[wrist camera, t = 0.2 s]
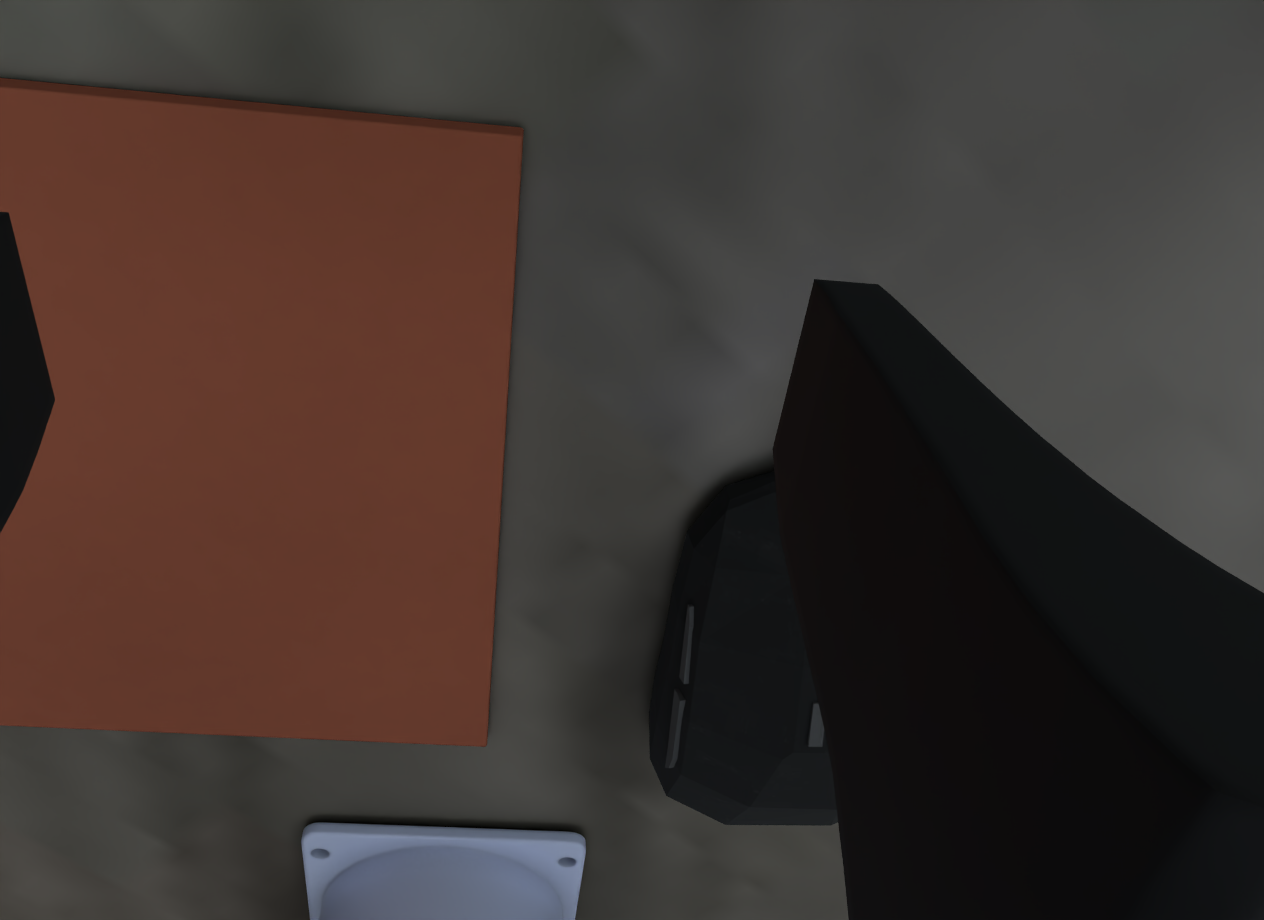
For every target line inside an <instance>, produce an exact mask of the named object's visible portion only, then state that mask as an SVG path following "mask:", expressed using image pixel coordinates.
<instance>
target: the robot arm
mask: <svg viewBox="0 0 1264 920" xmlns="http://www.w3.org/2000/svg"><path fill="white" fill-rule="evenodd" d="M54 402H55V396H54V392H53V388H52V384H51V380H50V376H49V372H48V368H47V364H46V360H45V356H44V352H43V348H42V344H41V340H40V336H39V332H38V328H37V324H36V320H35V316H34V312H33V308H32V304H31V300H30V296H29V292H28V288H27V284H26V280H25V276H24V272H23V268H22V264H21V260H20V256H19V252H18V248H17V244H16V240H15V236H14V232H13V228H12V224H11V220H10V216H9V212H0V533H1V531H2V529H3V528H4V526H5V524H6V522H7V520H8V518H9V517H10V515H11V513H12V511H13V509H14V507H15V505H16V503H17V501H18V499H19V498H20V496H21V494H22V492H23V490H24V487H25V485H26V482H27V479H28V477H29V474H30V471H31V469H32V466H33V463H34V461H35V458H36V456H37V453H38V450H39V447H40V444H41V441H42V438H43V435H44V432H45V429H46V426H47V423H48V420H49V417H50V414H51V411H52V408H53V405H54ZM773 459H774V472H775V485H776V498H777V509H778V519H779V529H780V538H781V543H782V547H783V552H784V557H785V561H786V566H787V570H788V574H789V579H790V583H791V588H792V592H793V597H794V601H795V605H796V610H797V614H798V618H799V623H800V627H801V631H802V635H803V640H804V644H805V648H806V652H807V657H808V661H809V665H810V670H811V674H812V678H813V682H814V687H815V691H816V695H817V700H818V704H819V708H820V712H821V717H822V721H823V725H824V730H825V735H826V740H827V746H828V751H829V757H830V762H831V768H832V773H833V781H834V790H835V798H836V807H837V815H838V823H839V832H840V840H841V849H842V857H843V866H844V875H845V886H846V896H847V906H848V916H849V920H1264V593H1262V592H1261V591H1259V590H1257V589H1256V588H1254V587H1252V586H1250V585H1249V584H1247V583H1245V582H1244V581H1242V580H1240V579H1239V578H1237V577H1235V576H1234V575H1232V574H1230V573H1228V572H1227V571H1225V570H1223V569H1222V568H1220V567H1218V566H1217V565H1215V564H1214V563H1212V562H1211V561H1209V560H1207V559H1206V558H1204V557H1203V556H1201V555H1200V554H1198V553H1197V552H1195V551H1193V550H1192V549H1190V548H1189V547H1187V546H1186V545H1184V544H1183V543H1181V542H1180V541H1178V540H1177V539H1175V538H1174V537H1172V536H1171V535H1169V534H1168V533H1167V532H1165V531H1164V530H1162V529H1161V528H1160V527H1158V526H1157V525H1155V524H1154V523H1152V522H1151V521H1150V520H1148V519H1147V518H1145V517H1144V516H1142V515H1141V514H1140V513H1138V512H1137V511H1135V510H1134V509H1132V508H1131V507H1130V506H1128V505H1127V504H1125V503H1124V502H1123V501H1121V500H1120V499H1118V498H1117V497H1116V496H1114V495H1113V494H1112V493H1110V492H1109V491H1108V490H1106V489H1105V488H1104V487H1102V486H1101V485H1100V484H1099V483H1097V482H1096V481H1095V480H1093V479H1092V478H1091V477H1089V476H1088V475H1087V474H1086V473H1084V472H1083V471H1082V470H1081V469H1080V468H1078V467H1077V466H1076V465H1075V464H1074V463H1072V462H1071V461H1070V460H1069V459H1068V458H1066V457H1065V456H1064V455H1063V454H1062V453H1060V452H1059V451H1058V450H1057V449H1056V448H1054V447H1053V446H1052V445H1051V444H1049V443H1048V442H1047V441H1046V440H1045V439H1043V438H1042V437H1041V436H1040V435H1039V434H1037V433H1036V432H1035V431H1034V430H1033V429H1032V428H1031V427H1030V426H1028V425H1027V424H1026V423H1025V422H1024V421H1023V420H1022V419H1021V418H1019V417H1018V416H1017V415H1016V414H1015V413H1014V412H1013V411H1012V410H1010V409H1009V408H1008V407H1007V406H1006V405H1005V404H1004V403H1003V402H1002V401H1001V400H1000V399H998V398H997V397H996V396H995V395H994V394H993V393H992V392H991V391H990V390H989V389H988V388H987V387H986V386H985V385H984V384H982V383H981V382H980V381H979V380H978V379H977V378H976V377H975V376H974V375H973V374H972V373H971V372H970V371H969V370H968V369H967V368H966V367H965V366H964V365H963V364H962V363H961V362H959V361H958V360H957V359H956V358H955V357H954V356H953V355H952V354H951V353H950V352H949V351H948V350H947V349H946V348H945V347H944V346H943V345H942V344H941V343H940V342H939V341H938V340H937V339H936V338H935V337H934V336H933V335H932V334H931V333H930V332H929V331H928V330H927V329H926V328H925V327H924V326H923V325H922V324H921V323H920V322H919V321H918V320H917V319H916V318H915V317H914V316H912V315H911V314H910V313H909V312H908V311H907V310H906V309H905V308H904V307H903V306H902V305H901V304H900V303H899V302H898V301H897V300H896V299H895V298H893V297H892V296H891V295H890V294H889V293H888V292H887V291H885V290H884V289H883V288H882V287H881V286H879V285H878V284H866V283H854V282H841V281H829V280H817V279H814V283H813V287H812V291H811V295H810V299H809V303H808V307H807V311H806V315H805V319H804V324H803V328H802V332H801V336H800V340H799V344H798V348H797V352H796V356H795V360H794V364H793V368H792V373H791V377H790V381H789V385H788V389H787V393H786V397H785V401H784V405H783V409H782V413H781V418H780V422H779V426H778V430H777V434H776V438H775V442H774V446H773ZM301 845H302V853H303V862H304V871H305V879H306V888H307V897H308V905H309V914H310V920H575V916H576V909H577V903H578V897H579V891H580V885H581V879H582V873H583V866H584V860H585V854H586V841H585V838H584V837H583V836H582V835H580V834H578V833H576V832H568V831H541V830H514V829H488V828H461V827H434V826H407V825H381V824H354V823H327V822H317V823H312V824H309V825H307V826H306V827H305V828H304V831H303V835H302V840H301Z"/></svg>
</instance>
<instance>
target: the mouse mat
mask: <svg viewBox="0 0 1264 920" xmlns="http://www.w3.org/2000/svg"><path fill="white" fill-rule="evenodd" d="M523 133H524V130H523V128H521V127H510V126H500V125H489V124H479V123H468V122H458V121H447V120H437V119H426V118H416V117H405V116H395V115H384V114H374V113H363V112H353V111H342V110H332V109H321V108H311V107H300V106H290V105H279V104H269V103H258V102H248V101H237V100H227V99H216V98H206V97H195V96H185V95H174V94H164V93H153V92H143V91H132V90H122V89H111V88H101V87H90V86H80V85H69V84H59V83H48V82H38V81H27V80H17V79H6V78H0V212H9V216H10V220H11V224H12V228H13V232H14V236H15V240H16V244H17V248H18V252H19V256H20V260H21V264H22V268H23V272H24V276H25V280H26V284H27V288H28V292H29V296H30V300H31V304H32V308H33V312H34V316H35V320H36V324H37V328H38V332H39V336H40V340H41V344H42V348H43V352H44V356H45V360H46V364H47V368H48V372H49V376H50V380H51V384H52V388H53V392H54V396H55V402H54V405H53V408H52V411H51V414H50V417H49V420H48V423H47V426H46V429H45V432H44V435H43V438H42V441H41V444H40V447H39V450H38V453H37V456H36V458H35V461H34V463H33V466H32V469H31V471H30V474H29V477H28V479H27V482H26V485H25V487H24V490H23V492H22V494H21V496H20V498H19V499H18V501H17V503H16V505H15V507H14V509H13V511H12V513H11V515H10V517H9V518H8V520H7V522H6V524H5V526H4V528H3V529H2V531H1V533H0V725H5V726H27V727H50V728H73V729H96V730H118V731H141V732H164V733H186V734H209V735H232V736H254V737H277V738H300V739H322V740H345V741H368V742H390V743H413V744H436V745H459V746H481V747H485V746H486V745H487V737H488V720H489V704H490V687H491V670H492V653H493V637H494V620H495V603H496V586H497V569H498V553H499V536H500V519H501V502H502V485H503V469H504V452H505V435H506V418H507V402H508V385H509V368H510V351H511V334H512V318H513V301H514V284H515V267H516V250H517V234H518V217H519V200H520V183H521V166H522V150H523Z"/></svg>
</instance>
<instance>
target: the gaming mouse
mask: <svg viewBox="0 0 1264 920" xmlns="http://www.w3.org/2000/svg"><path fill="white" fill-rule="evenodd" d="M649 733H650V760H651V762H652V764H653V767H654V769H655V771H656V773H657V776H658V778H659V780H660V782H661V785H662V787H663V789H664V791H665V794H666V796H668V797H670V798H672V799H674V800H676V801H678V802H680V803H682V804H684V805H686V806H688V807H690V808H692V809H694V810H696V811H699V812H701V813H703V814H705V815H707V816H709V817H711V818H713V819H715V820H717V821H719V822H721V823H723V824H725V825H833V824H835V823H837V822H838V815H837V807H836V798H835V790H834V781H833V773H832V768H831V762H830V757H829V751H828V746H827V740H826V735H825V730H824V725H823V721H822V717H821V712H820V708H819V704H818V700H817V695H816V691H815V687H814V682H813V678H812V674H811V670H810V665H809V661H808V657H807V652H806V648H805V644H804V640H803V635H802V631H801V627H800V623H799V618H798V614H797V610H796V605H795V601H794V597H793V592H792V588H791V583H790V579H789V574H788V570H787V566H786V561H785V557H784V552H783V547H782V543H781V538H780V529H779V519H778V509H777V498H776V485H775V472H774V471H773V472H769V473H766V474H763V475H760V476H756V477H753V478H750V479H747V480H743V481H740V482H737V483H734V484H731V485H727V486H725V487H724V489H723V490H722V491H721V492H720V493H719V494H718V496H717V497H716V498H715V499H714V500H713V501H712V503H711V504H710V505H709V506H708V507H707V509H706V510H705V511H704V512H703V513H702V514H701V516H700V517H699V518H698V519H697V520H696V521H695V523H694V524H693V525H692V526H691V527H690V529H689V530H688V531H687V534H686V538H685V542H684V546H683V550H682V554H681V557H680V561H679V565H678V569H677V573H676V577H675V581H674V584H673V590H672V595H671V601H670V607H669V612H668V618H667V624H666V630H665V635H664V640H663V644H662V648H661V652H660V656H659V660H658V665H657V669H656V673H655V677H654V684H653V691H652V698H651V705H650V711H649Z"/></svg>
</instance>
